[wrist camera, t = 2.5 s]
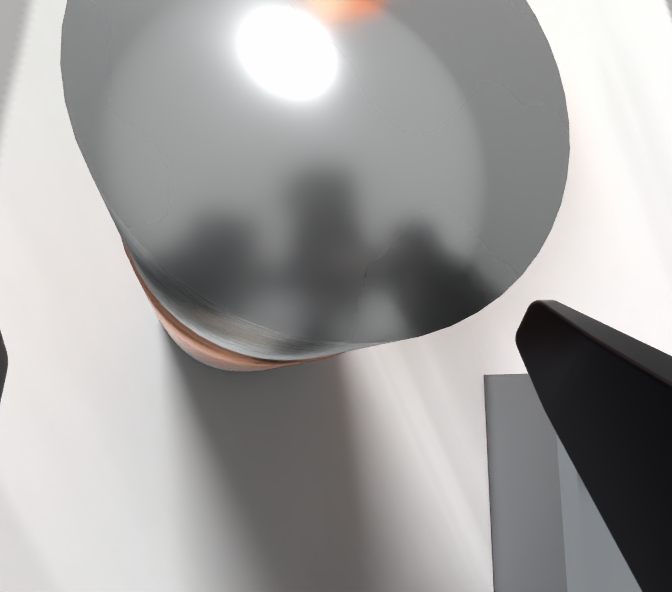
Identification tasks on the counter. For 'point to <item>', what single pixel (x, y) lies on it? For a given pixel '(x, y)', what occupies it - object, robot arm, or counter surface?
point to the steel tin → (317, 163)
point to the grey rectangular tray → (542, 503)
